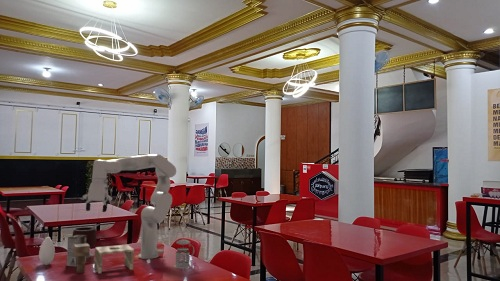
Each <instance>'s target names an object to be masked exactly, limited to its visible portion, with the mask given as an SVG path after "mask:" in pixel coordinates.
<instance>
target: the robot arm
mask: <svg viewBox="0 0 500 281" xmlns="http://www.w3.org/2000/svg"><path fill="white" fill-rule="evenodd" d="M92 165H93V167H92V177H91V183H90V185H89V188H88V191H87V193H85V194H84V195H82V199H83V201H84V203H85V204H86V205H85V211H86V212H88V211H89V212H90V211H91V202H102V203H103V204H102V211H101V212H102V213H106V212H107V210H108V205H109V204H110V203H111V201H112V200H113V197H112V196H110V195H109V192H108V190H109V189H108V188H109V187H108V184H107V183H109V180H108V179H107V174H118V173H120V172H121V171H138V170H144V169H149V168H151V169H152V168H155V171H154V172H155V174H156V176H157V184H156V186H155V188H154V191H153V192H152V195H151V196H150V203H151V204H152V205H153V206H150V205H149V206H145V207H144V208H143V209H142V210H141V213H140V217H141V218H140V219H141V241H140V242H141V243H140V244H141V245H140V253H139V254H138V255H137V257H138V259H140V260H141V259H144V260H152V259H157V258H159V256H160V255H159V254H163V253H165V250H164V249H159V248H157V246H158V245H157V244H158V239H157V238H158V224H161V223H162V222H163V221H165V219H166V218H167V215H168V212H169V210H170V208H171V206H172V204H173V196H172V194H171V193H170V192H169V191H170V188H171V179H170V178H173V177H175V175H176V174H177V167H176V166H175V165H174V164H173V163H172V162H171V161H169V160H168V159H167V158H165V157H164V156H163V155H161V154H158V153H157V154H156V153H150V154H144V155H143V154H142V155H135V156H129V157H128V156H127V157H124V158H116V159H115V158H114V159H107V160H105V159H96V160H93V164H92Z"/></svg>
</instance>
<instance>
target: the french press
mask: <svg viewBox="0 0 500 281" xmlns="http://www.w3.org/2000/svg"><path fill="white" fill-rule="evenodd" d="M182 226H186V222H182ZM184 234H185V231H183V236H182V237H183V238H182V239H179V240H177V241H176V244H178V245H181V246H185V245H188V247H189V248H191V247H192V249H193V251H192V253H191V255H190V249H189V248H187V247H180V248H178V247H177V249H176V251H175V264H174V266H173V268H175V269H188V267H189V268H191V267H190V265H191V264H190V261H191V260H190V259H191V258H192V257H193V256H194V254H195V247H194V246H193V245H192V244H191V241H189V240H187V239H184V236H185V235H184Z"/></svg>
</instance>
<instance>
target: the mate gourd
mask: <svg viewBox="0 0 500 281" xmlns="http://www.w3.org/2000/svg"><path fill="white" fill-rule="evenodd" d="M98 226H100V223H98V224H95V225H94V226H82V227H74V228H73V231H72V236H75V235H87V244H89V246H90V249H92V248H93V247H94V246H95V245H96V242H97V228H96V227H98ZM93 257H95V253H91V252H89V255H88V256H86V259H89V258H93Z"/></svg>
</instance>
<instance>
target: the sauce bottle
mask: <svg viewBox="0 0 500 281" xmlns="http://www.w3.org/2000/svg"><path fill="white" fill-rule="evenodd" d="M55 254H56V250H55V245H54V242H53V240H52V239H51V237H50V236H49V233H47V237H45V239H44V240H43V241H42V243H41V245H40V247H39V252H38V258H39V261H40V263H41V264H43V265H44V266H48V265H50V263H53V260H54V258H55Z"/></svg>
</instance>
